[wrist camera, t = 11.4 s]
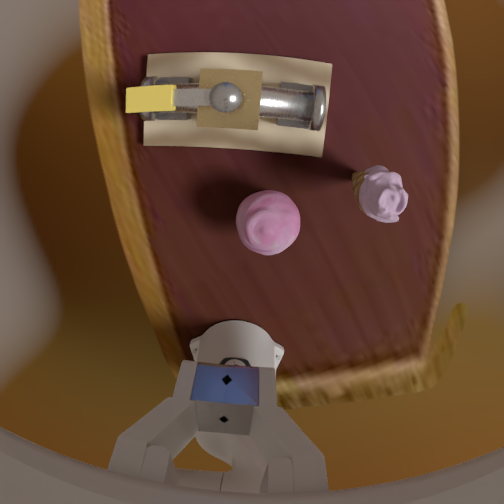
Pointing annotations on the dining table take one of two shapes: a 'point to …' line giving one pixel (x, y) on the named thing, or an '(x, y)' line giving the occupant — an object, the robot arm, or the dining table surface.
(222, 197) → the dining table surface
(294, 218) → the cupcake
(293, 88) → the valve assembly
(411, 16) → the dining table surface
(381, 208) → the ice cream cone
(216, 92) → the lever
